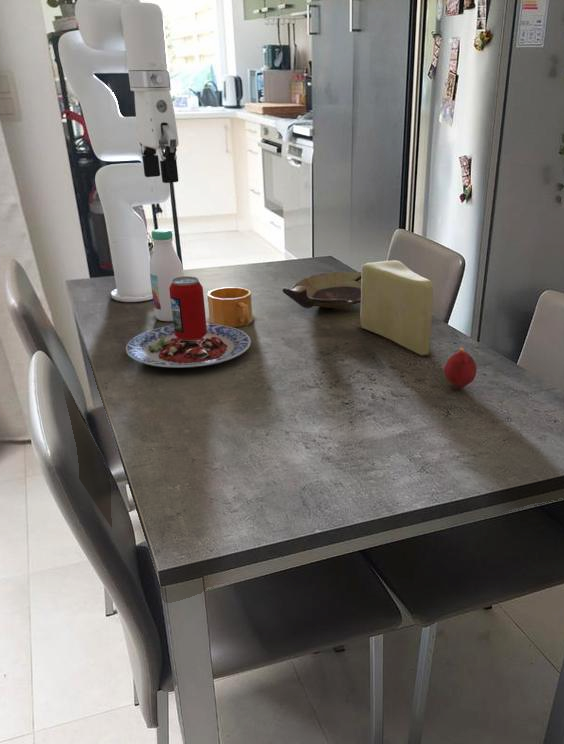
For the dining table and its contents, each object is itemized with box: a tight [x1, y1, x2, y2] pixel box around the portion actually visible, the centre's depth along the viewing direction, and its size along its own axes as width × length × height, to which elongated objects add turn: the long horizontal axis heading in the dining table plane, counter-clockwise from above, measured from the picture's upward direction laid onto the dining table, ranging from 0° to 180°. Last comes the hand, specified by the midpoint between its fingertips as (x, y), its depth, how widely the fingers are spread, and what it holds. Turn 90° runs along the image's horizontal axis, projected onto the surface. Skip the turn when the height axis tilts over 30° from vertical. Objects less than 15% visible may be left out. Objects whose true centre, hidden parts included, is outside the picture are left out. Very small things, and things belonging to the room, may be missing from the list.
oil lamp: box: [281, 271, 362, 309], centre depth 174 cm, size 22×30×8 cm
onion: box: [444, 347, 478, 390], centre depth 129 cm, size 6×6×8 cm
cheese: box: [360, 259, 434, 356], centre depth 150 cm, size 22×10×15 cm, turn 24°
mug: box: [207, 286, 254, 328], centre depth 162 cm, size 14×10×6 cm
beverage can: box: [169, 275, 207, 341], centre depth 143 cm, size 7×7×12 cm
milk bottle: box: [150, 228, 185, 322], centre depth 162 cm, size 8×8×20 cm
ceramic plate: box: [125, 323, 252, 369], centre depth 146 cm, size 26×26×3 cm
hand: (161, 179), depth 141 cm, fingers open, 9 cm apart
